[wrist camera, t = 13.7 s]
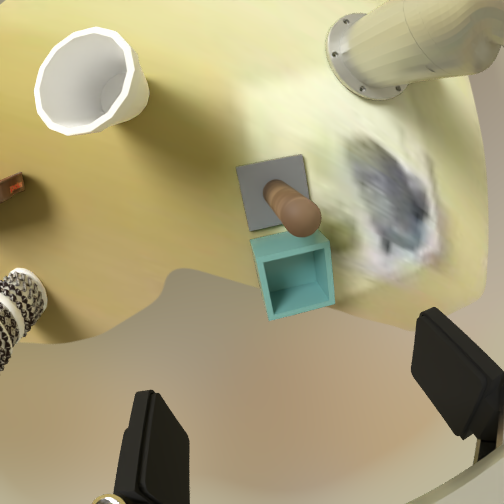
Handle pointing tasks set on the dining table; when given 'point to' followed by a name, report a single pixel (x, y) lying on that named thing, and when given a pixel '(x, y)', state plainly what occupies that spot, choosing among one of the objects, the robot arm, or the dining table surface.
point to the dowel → (292, 208)
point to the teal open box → (293, 273)
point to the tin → (11, 186)
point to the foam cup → (90, 83)
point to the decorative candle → (19, 308)
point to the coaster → (258, 176)
